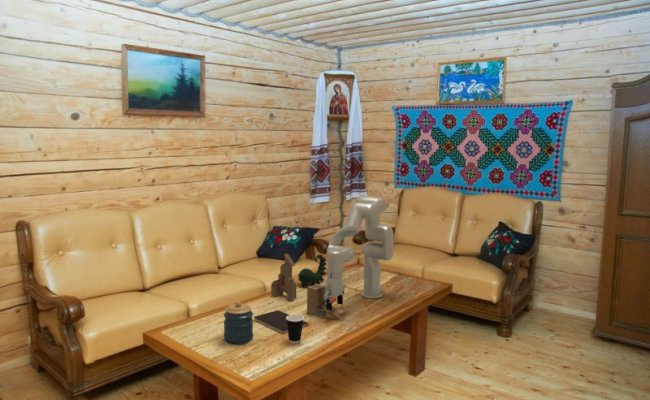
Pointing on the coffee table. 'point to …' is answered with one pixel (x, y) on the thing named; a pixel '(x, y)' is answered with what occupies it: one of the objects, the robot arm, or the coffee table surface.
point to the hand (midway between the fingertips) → (334, 306)
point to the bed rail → (334, 313)
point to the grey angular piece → (316, 300)
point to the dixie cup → (294, 327)
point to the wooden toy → (285, 280)
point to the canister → (238, 324)
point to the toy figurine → (309, 277)
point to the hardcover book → (276, 321)
